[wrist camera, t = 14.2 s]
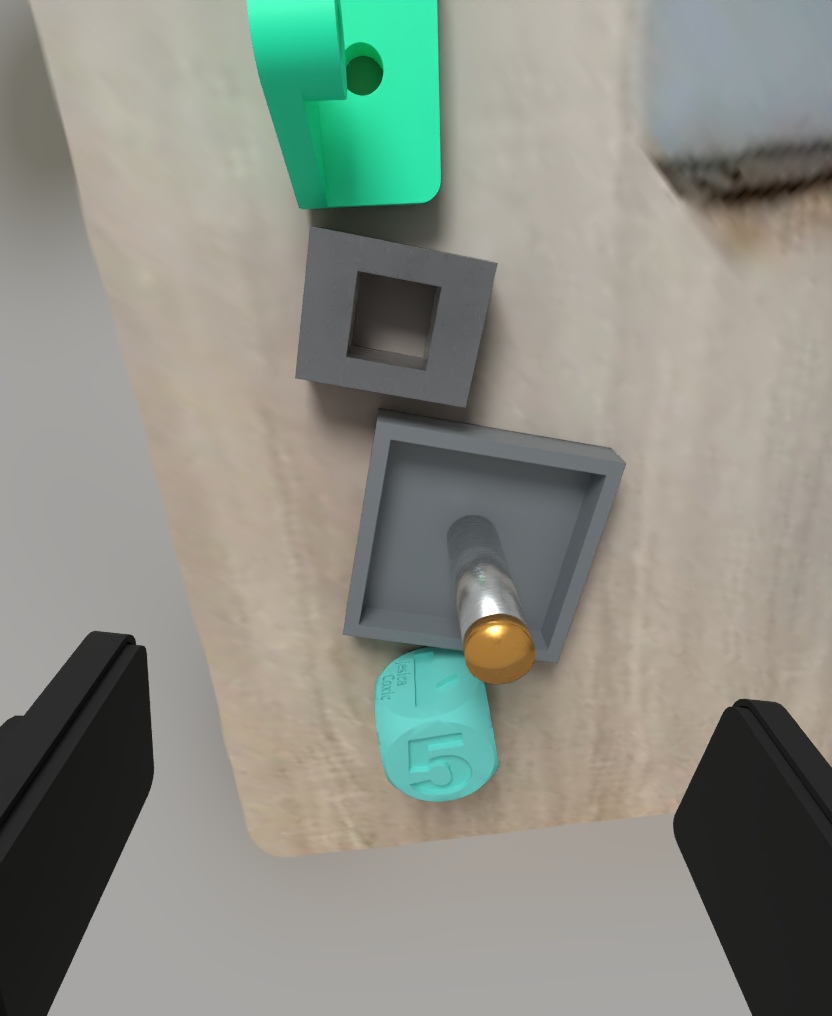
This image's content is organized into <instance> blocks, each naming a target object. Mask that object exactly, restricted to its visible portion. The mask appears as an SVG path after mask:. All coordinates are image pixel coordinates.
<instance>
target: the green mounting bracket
mask: <svg viewBox="0 0 832 1016" xmlns="http://www.w3.org/2000/svg"><path fill="white" fill-rule="evenodd" d="M247 8H248V17H249V25H250V32H251V39H252V45H253V50H254V56H255V61H256V65H257V70H258V74H259V78H260V82H261V85H262V88H263V92H264V95H265V98H266V101H267V105H268V108H269V111H270V114H271V118H272V121H273V124H274V128H275V131H276V134H277V137H278V141H279V144H280V147H281V150H282V154H283V157H284V160H285V163H286V167H287V170H288V173H289V176H290V180H291V183H292V186H293V189H294V193H295V196H296V199H297V202H298V206H299V208H301V209H322V208H344V207H367V206H389V205H411V204H424V203H427V202H429V201H430V200H431V199H432V198H433V197H434V196H435V195H436V194H437V192H438V190H439V188H440V184H441V160H440V112H439V65H438V17H437V0H247ZM359 56H367V57H370V58H372V59H374V60H375V61H376V62H377V63H378V64H379V65H380V67H381V68H382V71H383V78H382V81H381V84H380V85H379V87H378V88H377V89H376V90H375V91H374V92H373V93H371V94H369V95H364V96H360V95H356V94H354V93H352V92H351V91H349V90H348V89H347V74H346V67H347V65H348V64H349V63H350V62H351V61H352V60H353V59H354V58H356V57H359Z"/></svg>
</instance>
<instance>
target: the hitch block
mask: <svg viewBox="0 0 832 1016" xmlns="http://www.w3.org/2000/svg"><path fill="white" fill-rule="evenodd" d="M496 268H497V263H494V262H491V261H487V260H482V259H477V258H471V257H466V256H461V255H456V254H451V253H446V252H441V251H436V250H431V249H426V248H421V247H416V246H411V245H406V244H401V243H396V242H391V241H386V240H381V239H376V238H371V237H366V236H361V235H356V234H351V233H346V232H340V231H335V230H330V229H325V228H320V227H313V226H310V234H309V245H308V255H307V265H306V275H305V285H304V295H303V305H302V315H301V325H300V335H299V345H298V356H297V366H296V376H295V378H297V379H303V380H308V381H314V382H320V383H326V384H331V385H337V386H343V387H349V388H355V389H360V390H366V391H372V392H378V393H383V394H389V395H395V396H401V397H407V398H412V399H418V400H424V401H430V402H435V403H441V404H447V405H453V406H458V407H464V408H466V404H467V399H468V395H469V390H470V386H471V381H472V377H473V372H474V368H475V363H476V359H477V354H478V350H479V345H480V340H481V336H482V331H483V327H484V322H485V318H486V313H487V309H488V304H489V300H490V295H491V290H492V286H493V281H494V277H495V272H496ZM361 272H366V273H371V274H377V275H382V276H387V277H392V278H397V279H403V280H408V281H413V282H418V283H423V284H429V285H434V286H437V287H436V293H435V298H434V304H433V309H432V314H431V320H430V325H429V331H428V336H427V342H426V347H425V352H424V358H419V357H414V356H408V355H403V354H397V353H391V352H386V351H380V350H375V349H369V348H364V347H358V346H353V345H351V344H352V336H353V329H354V321H355V314H356V306H357V299H358V292H359V284H360V277H361Z"/></svg>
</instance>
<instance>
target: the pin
mask: <svg viewBox="0 0 832 1016" xmlns="http://www.w3.org/2000/svg"><path fill="white" fill-rule="evenodd" d="M447 545H448V551H449V558H450V564H451V571H452V577H453V584H454V590H455V597H456V604H457V610H458V617H459V623H460V630H461V636H462V643H463V649H464V656H465V662H466V666H467V668H468V670H469V671H470V673H471V674H472V675H473V676H474V677H476V678H477V679H479V680H481V681H483V682H486V683H490V684H505V683H509V682H512V681H515V680H517V679H519V678H521V677H522V676H523V675H525V674H526V673H527V672H528V671H529V669H530V668H531V667H532V665H533V663H534V660H535V648H534V644H533V641H532V638H531V635H530V632H529V629H528V626H527V623H526V620H525V617H524V614H523V611H522V608H521V604H520V601H519V598H518V595H517V592H516V589H515V586H514V583H513V580H512V577H511V574H510V571H509V568H508V565H507V562H506V558H505V555H504V552H503V549H502V546H501V543H500V540H499V537H498V534H497V531H496V528H495V526H494V525H493V523H492V522H491V521H490V520H488V519H487V518H485V517H482V516H479V515H468V516H464V517H461V518H460V519H458V520H456V521H455V522H454V523H453V524H452V525H451V527H450V528H449V530H448V533H447Z"/></svg>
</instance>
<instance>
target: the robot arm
mask: <svg viewBox="0 0 832 1016" xmlns="http://www.w3.org/2000/svg"><path fill="white" fill-rule="evenodd" d="M149 698H150V697H149V682H148V667H147V652H146V648H145V647H144V646H141V645H136V641H135V638H134V637H133V636H132V635H129V634H119V633H110V632H100V631H93V632H91V633H89V634H88V635H87V636H86V638H85V639H84V640H83V641H82V643H81V644H80V645H79V646H78V648H77V649H76V650H75V651H74V653H73V654H72V655H71V657H70V658H69V659H68V660H67V662H66V663H65V664H64V665H63V667H62V668H61V669H60V671H59V672H58V673H57V674H56V676H55V677H54V678H53V679H52V681H51V682H50V683H49V685H48V686H47V687H46V688H45V690H44V691H43V692H42V694H41V695H40V696H39V697H38V698H37V700H36V701H35V702H34V703H33V705H32V706H31V707H30V709H29V710H28V711H27V712H26V714H25V715H24V716H14V717H12V718H10V719H8V720H7V721H6V722H5V723H4V724H3V725H2V726H1V727H0V1016H47V1014H48V1012H49V1010H50V1007H51V1005H52V1003H53V1001H54V998H55V996H56V994H57V992H58V990H59V988H60V986H61V983H62V981H63V979H64V977H65V975H66V973H67V970H68V968H69V966H70V964H71V962H72V959H73V957H74V955H75V953H76V950H77V949H78V946H79V944H80V942H81V940H82V937H83V935H84V933H85V931H86V929H87V927H88V924H89V922H90V920H91V918H92V916H93V914H94V911H95V909H96V907H97V905H98V903H99V901H100V898H101V896H102V894H103V892H104V890H105V888H106V885H107V883H108V881H109V879H110V877H111V874H112V872H113V870H114V868H115V866H116V863H117V861H118V859H119V857H120V855H121V853H122V850H123V848H124V846H125V844H126V842H127V840H128V837H129V835H130V833H131V831H132V829H133V827H134V824H135V822H136V820H137V818H138V816H139V814H140V811H141V809H142V807H143V805H144V803H145V800H146V798H147V796H148V794H149V791H150V788H151V785H152V781H153V775H154V761H153V745H152V730H151V714H150V699H149ZM673 829H674V835H675V838H676V841H677V844H678V846H679V848H680V851H681V853H682V855H683V858H684V860H685V862H686V864H687V867H688V869H689V871H690V874H691V876H692V878H693V881H694V883H695V885H696V887H697V890H698V892H699V894H700V897H701V899H702V901H703V903H704V906H705V908H706V910H707V913H708V915H709V917H710V920H711V922H712V924H713V926H714V929H715V931H716V933H717V936H718V938H719V940H720V942H721V945H722V947H723V949H724V952H725V954H726V956H727V958H728V961H729V963H730V965H731V968H732V970H733V972H734V974H735V977H736V979H737V981H738V984H739V986H740V988H741V991H742V993H743V995H744V997H745V1000H746V1002H747V1004H748V1007H749V1009H750V1011H751V1013H752V1016H832V768H831V766H830V765H829V764H828V762H827V761H826V760H825V759H824V757H823V756H822V755H821V753H820V752H819V751H818V750H817V748H816V747H815V746H814V745H813V743H812V742H811V741H810V739H809V738H808V737H807V736H806V734H805V733H804V732H803V730H802V729H801V728H800V727H799V725H798V724H797V723H796V722H795V720H794V719H793V718H792V716H791V715H790V714H789V713H788V711H787V710H786V709H785V708H784V707H783V706H782V705H781V704H779V703H776V702H769V701H760V700H750V699H739V700H738V701H736V702H735V703H734V705H733V706H732V707H728V708H726V709H725V711H724V712H723V714H722V716H721V718H720V721H719V723H718V725H717V727H716V729H715V731H714V733H713V735H712V737H711V740H710V742H709V744H708V746H707V748H706V750H705V752H704V754H703V756H702V759H701V761H700V763H699V765H698V767H697V769H696V771H695V773H694V775H693V778H692V780H691V782H690V784H689V786H688V788H687V790H686V792H685V795H684V797H683V799H682V801H681V803H680V805H679V807H678V809H677V811H676V814H675V816H674V821H673Z"/></svg>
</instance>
